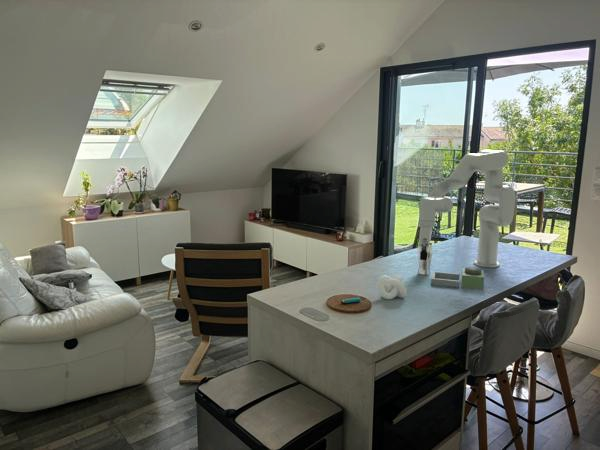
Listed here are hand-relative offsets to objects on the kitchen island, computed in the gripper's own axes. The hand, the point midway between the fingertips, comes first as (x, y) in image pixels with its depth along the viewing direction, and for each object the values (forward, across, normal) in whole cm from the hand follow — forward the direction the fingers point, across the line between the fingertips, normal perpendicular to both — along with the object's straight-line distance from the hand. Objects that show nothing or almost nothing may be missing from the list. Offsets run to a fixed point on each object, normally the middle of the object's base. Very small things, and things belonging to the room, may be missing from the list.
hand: (424, 257), depth 228 cm
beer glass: (+8, 0, 0) cm, 9 cm away
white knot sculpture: (+9, +38, -9) cm, 40 cm away
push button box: (+8, +11, +16) cm, 21 cm away
